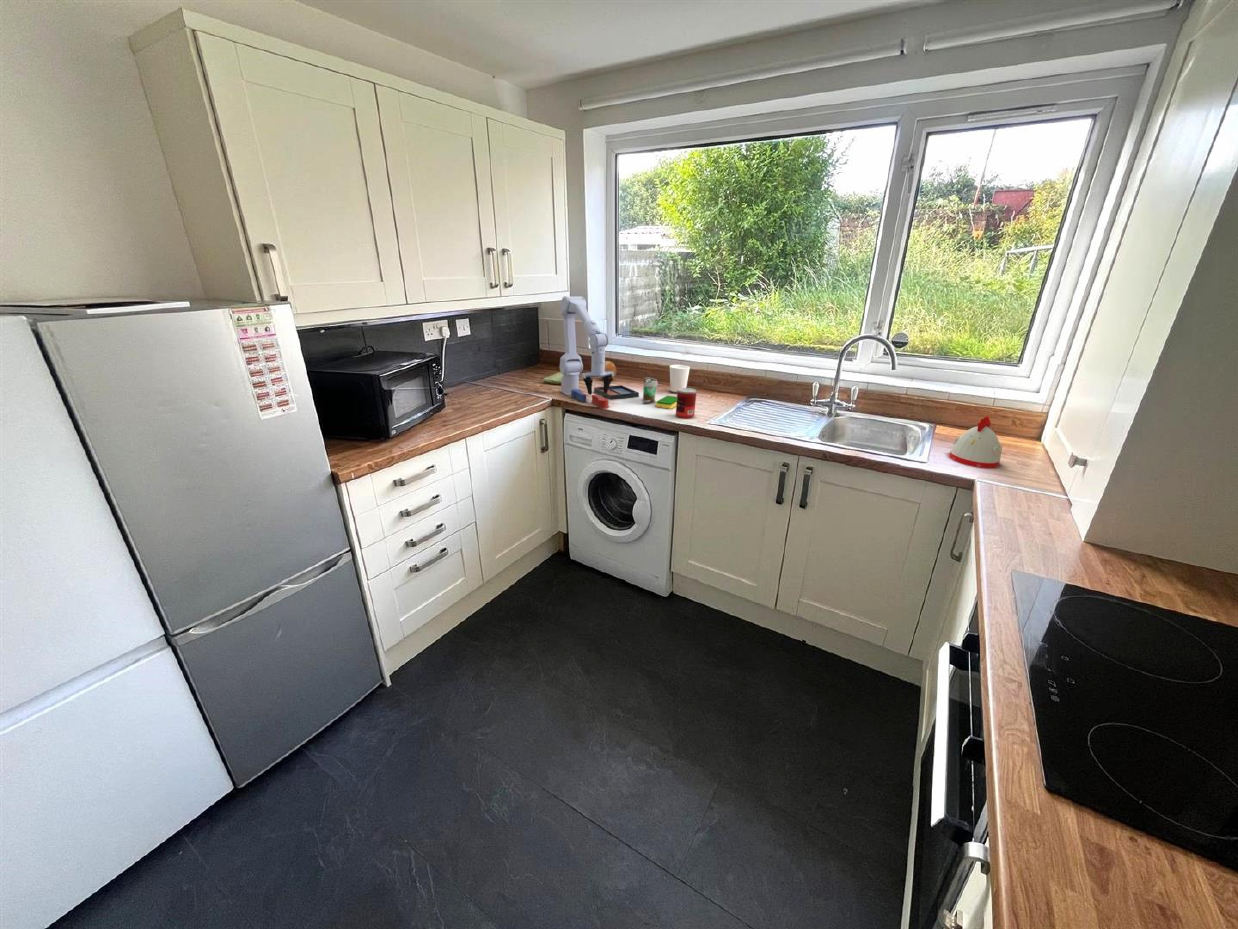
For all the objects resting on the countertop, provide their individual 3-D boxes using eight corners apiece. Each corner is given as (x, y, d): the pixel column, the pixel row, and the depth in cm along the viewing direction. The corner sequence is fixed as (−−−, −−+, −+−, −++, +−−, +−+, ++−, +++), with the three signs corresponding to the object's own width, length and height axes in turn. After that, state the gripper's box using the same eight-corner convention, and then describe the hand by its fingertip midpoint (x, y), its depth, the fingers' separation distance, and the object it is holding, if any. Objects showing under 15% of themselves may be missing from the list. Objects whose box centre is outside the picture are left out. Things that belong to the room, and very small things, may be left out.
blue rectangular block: (578, 395, 233) (578, 388, 232) (588, 401, 224) (588, 394, 222) (569, 396, 231) (569, 389, 230) (579, 402, 222) (579, 395, 220)
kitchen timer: (941, 457, 169) (953, 414, 163) (959, 450, 176) (972, 409, 171) (988, 470, 158) (1003, 425, 153) (1005, 462, 166) (1020, 419, 160)
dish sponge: (655, 406, 219) (656, 401, 218) (666, 400, 231) (667, 395, 230) (670, 409, 216) (671, 403, 215) (681, 402, 228) (681, 397, 227)
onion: (596, 381, 265) (596, 362, 261) (600, 377, 274) (600, 359, 270) (614, 382, 263) (614, 363, 260) (617, 378, 273) (618, 360, 269)
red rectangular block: (600, 408, 213) (600, 401, 212) (589, 402, 222) (589, 395, 221) (609, 407, 215) (610, 400, 214) (598, 401, 224) (598, 394, 223)
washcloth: (541, 383, 256) (541, 376, 255) (559, 377, 271) (559, 371, 270) (563, 386, 251) (563, 380, 250) (580, 380, 266) (580, 374, 264)
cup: (691, 391, 248) (693, 366, 244) (682, 395, 241) (684, 369, 236) (673, 388, 253) (675, 363, 249) (664, 392, 245) (666, 366, 241)
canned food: (695, 414, 209) (698, 388, 205) (692, 419, 202) (694, 392, 198) (677, 412, 211) (679, 386, 207) (673, 417, 204) (675, 390, 200)
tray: (610, 399, 228) (610, 395, 227) (594, 391, 242) (594, 387, 241) (638, 396, 235) (639, 392, 234) (621, 389, 249) (621, 385, 248)
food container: (657, 405, 222) (658, 382, 218) (643, 404, 222) (644, 382, 218) (656, 398, 233) (657, 377, 230) (642, 398, 233) (644, 376, 230)
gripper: (586, 364, 207) (586, 396, 212) (617, 362, 213) (616, 394, 218) (579, 362, 213) (579, 393, 218) (609, 360, 219) (609, 390, 224)
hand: (597, 393), depth 218 cm, fingers open, 7 cm apart
